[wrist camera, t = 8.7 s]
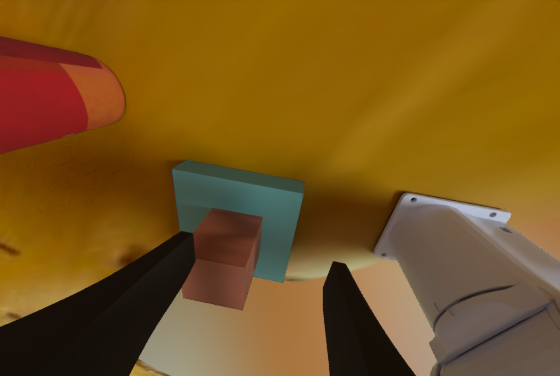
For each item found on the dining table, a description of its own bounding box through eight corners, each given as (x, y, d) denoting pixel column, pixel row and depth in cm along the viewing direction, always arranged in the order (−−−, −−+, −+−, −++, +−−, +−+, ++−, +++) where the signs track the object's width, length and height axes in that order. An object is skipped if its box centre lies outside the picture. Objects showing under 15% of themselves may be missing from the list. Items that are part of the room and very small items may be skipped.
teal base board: (304, 179, 20) (303, 193, 17) (285, 262, 25) (283, 282, 23) (189, 158, 20) (171, 168, 18) (196, 243, 26) (183, 261, 23)
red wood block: (263, 216, 19) (245, 268, 14) (259, 254, 21) (242, 310, 16) (212, 207, 19) (175, 254, 14) (214, 245, 21) (183, 297, 16)
